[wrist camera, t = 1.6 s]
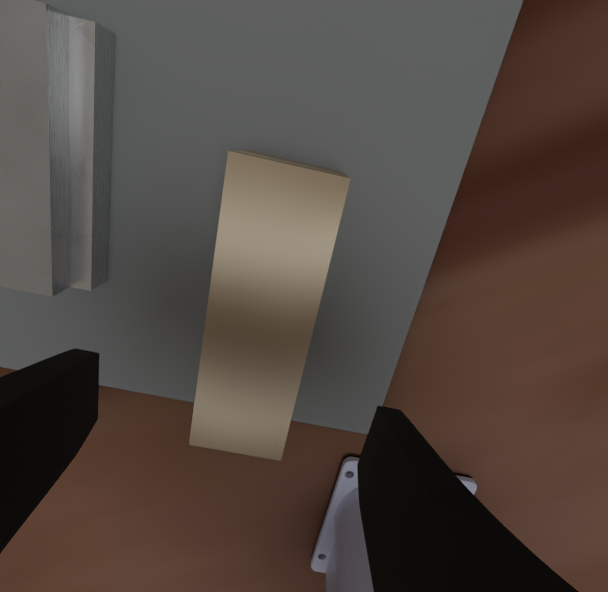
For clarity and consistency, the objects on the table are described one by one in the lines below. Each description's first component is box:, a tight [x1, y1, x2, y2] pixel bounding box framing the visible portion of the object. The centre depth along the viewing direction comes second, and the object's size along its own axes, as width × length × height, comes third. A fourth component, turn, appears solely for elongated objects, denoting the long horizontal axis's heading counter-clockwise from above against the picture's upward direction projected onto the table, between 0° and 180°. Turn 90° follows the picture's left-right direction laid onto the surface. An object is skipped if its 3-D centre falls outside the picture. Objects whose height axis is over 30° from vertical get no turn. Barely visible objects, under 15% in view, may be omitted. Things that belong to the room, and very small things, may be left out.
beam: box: [189, 150, 351, 461], centre depth 16 cm, size 12×4×4 cm, turn 168°
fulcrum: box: [0, 0, 116, 297], centre depth 15 cm, size 10×4×3 cm, turn 168°
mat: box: [0, 0, 523, 434], centre depth 17 cm, size 22×24×1 cm
